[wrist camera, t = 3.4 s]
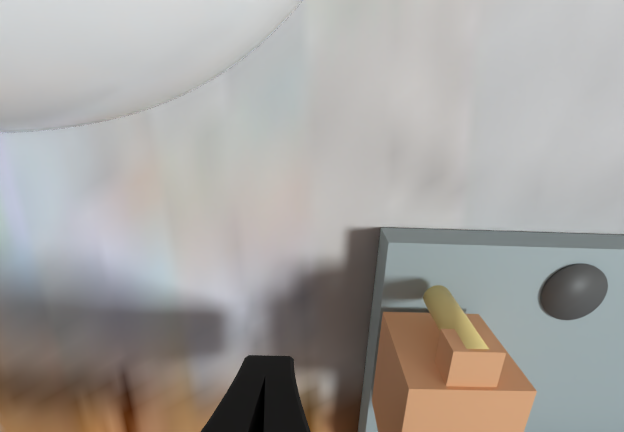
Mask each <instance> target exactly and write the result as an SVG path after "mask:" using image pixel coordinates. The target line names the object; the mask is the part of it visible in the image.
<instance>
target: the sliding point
mask: <svg viewBox="0 0 624 432" xmlns="http://www.w3.org/2000/svg"><path fill="white" fill-rule="evenodd" d="M423 300H424V303H425V305H426V307H427V308H428V310H429V312H430V313H418V312H383V314H382V322H381V330H380V338H379V346H378V354H377V362H376V370H375V378H374V386H373V394H372V404H373V409H374V414H375V419H376V424H377V428H378V432H524V430H525V427H526V424H527V420H528V417H529V414H530V411H531V408H532V405H533V402H534V399H535V396H536V393H537V391H536V389H535V388H534V387H533V385H532V384H531V383H530V381H529V380H528V379H527V377H526V376H525V375H524V373H523V372H522V371H521V369H520V368H519V367H518V365H517V364H516V363H515V361H514V360H513V359H512V357H511V356H510V355H509V354H508V352H507V351H506V350H505V348H504V347H503V346H502V344H501V343H500V342H499V340H498V339H497V338H496V336H495V335H494V334H493V332H492V331H491V330H490V328H489V327H488V326H487V324H486V323H485V322H484V320H483V319H482V318H481V316H480V315H479V314H465V313H464V312H463V310H462V309H461V307H460V306H459V304H458V303H457V302H456V300H455V299H454V297H453V296H452V294H451V293H450V291H449V290H448V289H447V288H446V287H444V286H441V285H435V286H432V287H430V288H429V289H427V290H426V292H425V293H424V296H423Z"/></svg>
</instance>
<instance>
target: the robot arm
mask: <svg viewBox="0 0 624 432" xmlns="http://www.w3.org/2000/svg"><path fill="white" fill-rule="evenodd" d="M201 432H310V429H309V426H308V423H307V420H306V417H305V414H304V410H303V407H302V404H301V400H300V397H299V393H298V388H297V384H296V379H295V373H294V359H293V358H292V357H290V356H258V355H248V356H247V357H246V358H245V359H244V361H243V363H242V366H241V368H240V369H239V371H238V373H237V375H236V377H235V379H234V381H233V382H232V384H231V386H230V388H229V389H228V391H227V393H226V394H225V396H224V397H223V399H222V401H221V402H220V404H219V405H218V407H217V408H216V410H215V412H214V413H213V415H212V416H211V418H210V419H209V421H208V422H207V424H206V425H205V426H204V428H203V429H202V430H201Z"/></svg>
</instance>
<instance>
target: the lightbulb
mask: <svg viewBox="0 0 624 432" xmlns="http://www.w3.org/2000/svg"><path fill="white" fill-rule="evenodd" d="M302 1H303V0H0V133H17V132H34V131H46V130H56V129H63V128H70V127H77V126H84V125H89V124H94V123H99V122H104V121H109V120H113V119H117V118H121V117H125V116H129V115H132V114H135V113H138V112H141V111H144V110H148V109H150V108H153V107H156V106H159V105H161V104H164V103H167V102H169V101H171V100H174V99H176V98H178V97H180V96H183V95H185V94H187V93H189V92H191V91H193V90H195V89H197V88H199V87H201V86H202V85H204V84H206V83H208V82H209V81H211V80H213V79H214V78H216V77H218V76H219V75H221V74H222V73H224V72H225V71H227V70H228V69H230V68H232V67H233V66H234V65H236V64H237V63H238V62H240V61H241V60H242V59H244V58H245V57H246V56H248V55H249V54H250V53H251V52H252V51H254V50H255V49H256V48H257V47H259V46H260V45H261V44H262V43H263V42H264V41H265V40H266V39H267V38H268V37H269V36H271V35H272V34H273V33H274V32H275V31H276V30H277V29H278V28H279V27H280V26H281V25H282V24H283V23H284V22H285V20H286V19H287V18H288V17H289V16H290V15H291V14H292V13H293V12H294V10H295V9H296V8H297V7H298V6H299V5H300V3H301V2H302Z"/></svg>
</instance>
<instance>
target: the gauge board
mask: <svg viewBox="0 0 624 432" xmlns="http://www.w3.org/2000/svg"><path fill="white" fill-rule="evenodd" d="M435 285H441V286H444V287H446V288H447V289H448V290H449V291H450V293H451V294H452V296H453V297H454V299H455V300H456V302H457V303H458V304H459V306H460V307H461V309H462V310H463V312H464V313H465V314H479V315H480V316H481V318H482V319H483V320H484V322H485V323H486V324H487V326H488V327H489V328H490V330H491V331H492V332H493V334H494V335H495V336H496V338H497V339H498V340H499V342H500V343H501V344H502V346H503V347H504V348H505V350H506V351H507V352H508V354H509V355H510V356H511V357H512V359H513V360H514V361H515V363H516V364H517V365H518V367H519V368H520V369H521V371H522V372H523V373H524V375H525V376H526V377H527V379H528V380H529V381H530V383H531V384H532V385H533V387H534V388H535V389H536V391H537V393H536V396H535V399H534V402H533V405H532V408H531V411H530V414H529V417H528V420H527V424H526V427H525V430H524V432H624V235H611V234H578V233H545V232H512V231H480V230H447V229H414V228H381V230H380V239H379V248H378V257H377V265H376V274H375V283H374V292H373V301H372V310H371V319H370V328H369V337H368V346H367V355H366V364H365V372H364V381H363V390H362V399H361V408H360V417H359V426H358V432H378V428H377V424H376V419H375V414H374V409H373V404H372V394H373V386H374V378H375V370H376V362H377V354H378V346H379V338H380V330H381V322H382V314H383V312H418V313H430V312H429V310H428V308H427V307H426V305H425V303H424V300H423V296H424V293H425V292H426V290H427V289H429V288H430V287H432V286H435Z"/></svg>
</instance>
